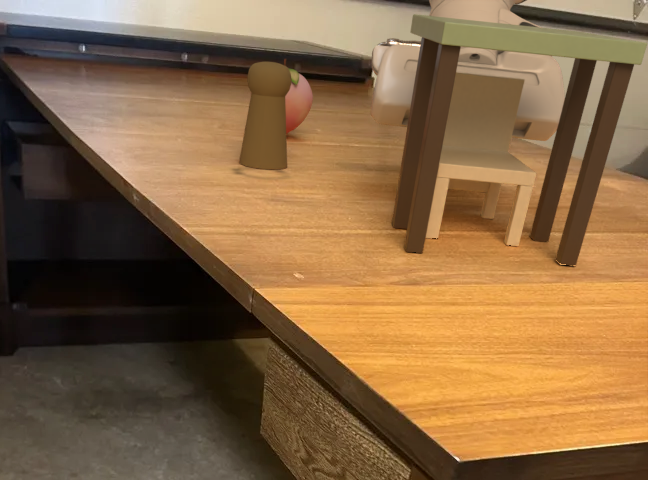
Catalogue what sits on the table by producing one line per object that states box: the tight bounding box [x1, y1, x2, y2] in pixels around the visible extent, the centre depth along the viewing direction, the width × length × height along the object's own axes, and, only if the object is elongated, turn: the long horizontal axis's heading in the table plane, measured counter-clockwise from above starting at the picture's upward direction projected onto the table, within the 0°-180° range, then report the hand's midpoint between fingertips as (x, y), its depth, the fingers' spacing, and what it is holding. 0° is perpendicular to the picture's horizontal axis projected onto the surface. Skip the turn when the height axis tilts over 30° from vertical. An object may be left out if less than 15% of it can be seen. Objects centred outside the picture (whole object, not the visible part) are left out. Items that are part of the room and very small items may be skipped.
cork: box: [238, 61, 292, 170], centre depth 98 cm, size 6×6×11 cm
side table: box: [391, 13, 648, 266], centre depth 74 cm, size 16×16×18 cm
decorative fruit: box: [283, 58, 314, 135], centre depth 117 cm, size 9×8×10 cm
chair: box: [425, 72, 538, 247], centre depth 79 cm, size 9×12×13 cm
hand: (465, 162), depth 85 cm, fingers closed, pressing on chair
